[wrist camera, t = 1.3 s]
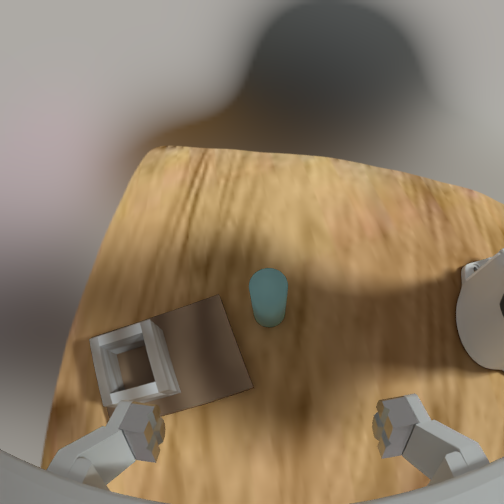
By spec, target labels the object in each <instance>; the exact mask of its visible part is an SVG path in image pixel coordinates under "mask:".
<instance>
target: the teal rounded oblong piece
mask: <svg viewBox="0 0 504 504" xmlns="http://www.w3.org/2000/svg"><path fill="white" fill-rule="evenodd" d="M249 291H250V296H251V302H252V307H253V312H254V317H255V319H256V321H257V322H258V323H259V324H260V325H262V326H264V327H274V326H277V325H278V324H280V323H281V322H282V320H283V319H284V316H285V309H286V300H287V291H288V282H287V279H286V277H285V276H284V275H283V274H282V273H281V272H280V271H278V270H276V269H272V268H265V269H261V270H259V271H257V272H256V273H255V274H254V275H253V276H252V277H251V279H250V282H249Z"/></svg>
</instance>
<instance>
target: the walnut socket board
mask: <svg viewBox="0 0 504 504" xmlns="http://www.w3.org/2000/svg"><path fill="white" fill-rule="evenodd" d="M89 341H90V347H91V352H92V357H93V363H94V368H95V372H96V377H97V381H98V386H99V390H100V394H101V398H102V402H103V406H104V407H107V410H108V414H109V418H111V416H112V414H113V412H114V410H115V408H116V407H117V405H118V403H119V402H120V401H121V400H127V401H135V402H141V403H148V404H156V405H158V406H159V407H160V410H161V413H160V417H161V416H165V415H168V414H172V413H176V412H179V411H183V410H186V409H190V408H193V407H197V406H200V405H203V404H207V403H210V402H213V401H216V400H219V399H222V398H225V397H229V396H232V395H234V394H237V393H240V392H243V391H246V390H249V389H252V388H254V387H253V385H252V382H251V379H250V377H249V374H248V372H247V369H246V366H245V364H244V361H243V358H242V356H241V353H240V350H239V348H238V345H237V342H236V340H235V337H234V334H233V332H232V329H231V326H230V323H229V321H228V318H227V315H226V312H225V309H224V307H223V304H222V301H221V298H220V296H219V294H218V295H216V296H213V297H210V298H207V299H204V300H201V301H199V302H196V303H193V304H190V305H187V306H184V307H181V308H179V309H176V310H173V311H170V312H167V313H164V314H161V315H158V316H155V317H152V318H149V319H146V320H143V321H140V322H137V323H134V324H131V325H128V326H125V327H122V328H119V329H116V330H113V331H110V332H107V333H104V334H101V335H98V336H95V337H92V338H91V339H89Z"/></svg>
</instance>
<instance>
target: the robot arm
mask: <svg viewBox="0 0 504 504" xmlns="http://www.w3.org/2000/svg"><path fill="white" fill-rule="evenodd" d="M473 269H474V270H475V271H474V270H473ZM461 278H462V288H461V292H460V295H459V298H458V301H457V307H456V322H457V328H458V333H459V336H460V339H461V341H462V344H463V346H464V348H465V349H466V351H467V353H468V354H469V355H470V357H471V358H472V359H473V360H474V361H475V362H477V363H478V364H479V365H481V366H483V367H485V368H488V369H499V370H503V371H504V248H503V249H502V250H500V251H499V252H498V253H497V254H496V255H494V256H493V257H490V258H486V259H483V260H480V261H476V262H472V263H469V264H467V265H465V266H464V267H463V268H462V271H461ZM376 408H377V411H378V412H377V413H376V414H375V415H374V417H373V422H372V429H373V434H374V437H375V438H376V439H377V440H379V443H378V449H379V452H380V455H381V458H388V457H394V456H399V455H402V456H403V457H404V458H405V459H406V460H407V461H409V462H410V463H411V464H412V465H414V466H415V467H416V468H417V469H418V470H420V471H421V472H422V473H423V474H425V475H426V476H427V477H428V478H430V479H431V481H430V482H429V484H428V485H427V486H426V487H423V488H419V489H416V490H412V491H409V492H405V493H401V494H397V495H392V496H388V497H383V498H379V499H374V500H369V501H363V502H357V503H351V504H504V457H502V458H500V459H498V460H495V461H493V462H491V463H489V461H488V459H487V457H486V455H485V454H484V452H483V450H482V449H481V447H480V445H479V443H478V442H476V441H474V440H472V439H470V438H468V437H466V436H464V435H462V434H460V433H458V432H457V431H455V430H453V429H451V428H449V427H447V426H445V425H443V424H442V423H440V422H438V421H436V420H431V419H430V417H429V415H428V413H427V412H426V410H425V408H424V406H423V404H422V403H421V401H420V399H419V397H418V396H417V395H416V394H410V395H405V396H400V397H394V398H388V399H382V400H379V401H378V403H377V406H376ZM160 413H161V410H160V407H159V406H158V405H156V404H148V403H141V402H135V401H127V400H121V401H120V402H119V403H118V405H117V407H116V408H115V410H114V412H113V414H112V416H111V418H110V419H109V421H108V423H107V425H106V427H104V426H102V427H100V428H98V429H96V430H95V431H93V432H91V433H89V434H87V435H86V436H84V437H82V438H80V439H78V440H76V441H75V442H73V443H71V444H69V445H67V446H65V447H63V448H61V449H59V450H58V452H57V454H56V455H55V457H54V458H53V460H52V462H51V463H50V465H49V467H48V468H47V470H44V469H42V468H39V467H37V466H35V465H32V464H30V463H28V462H26V461H23V460H21V459H19V458H17V457H15V456H13V455H11V454H8V453H6V452H4V451H2V450H1V449H0V504H169V503H162V502H157V501H151V500H146V499H141V498H136V497H132V496H127V495H123V494H119V493H115V492H111V491H110V490H109V488H108V487H107V486H106V485H107V484H108V483H109V482H110V481H112V480H113V479H114V478H115V477H117V476H118V475H119V474H120V473H122V472H123V471H124V470H125V469H126V468H128V467H129V466H130V465H131V464H132V463H134V462H135V461H136V460H141V461H148V462H155V463H156V461H157V458H158V455H159V453H160V448H159V444H161V443H162V442H163V440H164V437H165V423H164V420H163V419H162V418H161V417H160Z"/></svg>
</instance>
